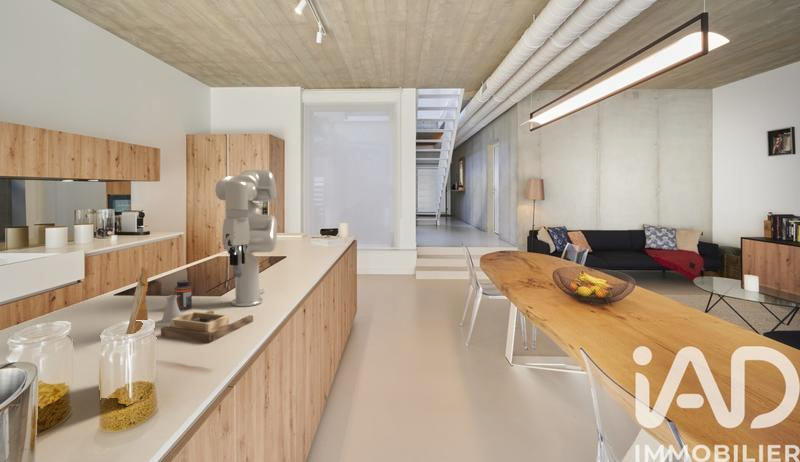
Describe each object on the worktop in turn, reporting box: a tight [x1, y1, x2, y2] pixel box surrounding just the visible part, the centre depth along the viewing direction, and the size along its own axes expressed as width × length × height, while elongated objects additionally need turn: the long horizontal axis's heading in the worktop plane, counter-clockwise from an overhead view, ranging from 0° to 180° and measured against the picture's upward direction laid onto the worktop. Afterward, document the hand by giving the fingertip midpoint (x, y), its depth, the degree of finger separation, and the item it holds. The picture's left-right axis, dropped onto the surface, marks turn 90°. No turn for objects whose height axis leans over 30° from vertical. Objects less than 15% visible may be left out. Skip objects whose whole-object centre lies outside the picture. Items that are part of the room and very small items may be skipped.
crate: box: [170, 310, 230, 332], centre depth 120 cm, size 9×14×5 cm, turn 76°
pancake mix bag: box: [125, 266, 149, 335], centre depth 86 cm, size 7×19×28 cm, turn 27°
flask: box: [161, 294, 183, 323], centre depth 132 cm, size 7×7×10 cm
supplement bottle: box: [174, 279, 193, 311], centre depth 150 cm, size 6×6×11 cm
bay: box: [160, 310, 254, 344], centre depth 124 cm, size 21×18×4 cm
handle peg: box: [232, 245, 242, 278], centre depth 136 cm, size 3×3×13 cm
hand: (237, 263), depth 136 cm, fingers closed on handle peg, 3 cm apart
